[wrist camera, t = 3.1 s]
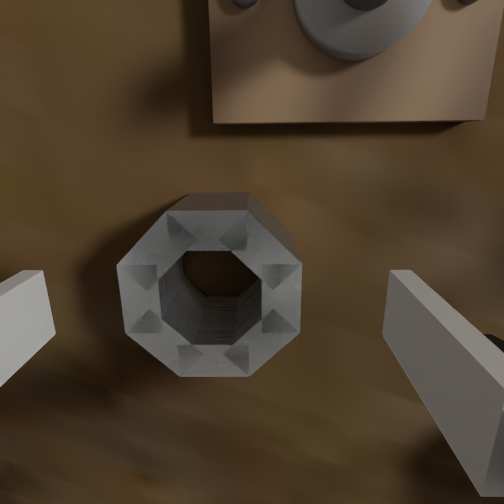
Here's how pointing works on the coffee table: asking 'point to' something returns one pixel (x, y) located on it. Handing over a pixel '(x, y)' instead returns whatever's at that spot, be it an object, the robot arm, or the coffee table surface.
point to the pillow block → (352, 60)
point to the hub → (218, 307)
